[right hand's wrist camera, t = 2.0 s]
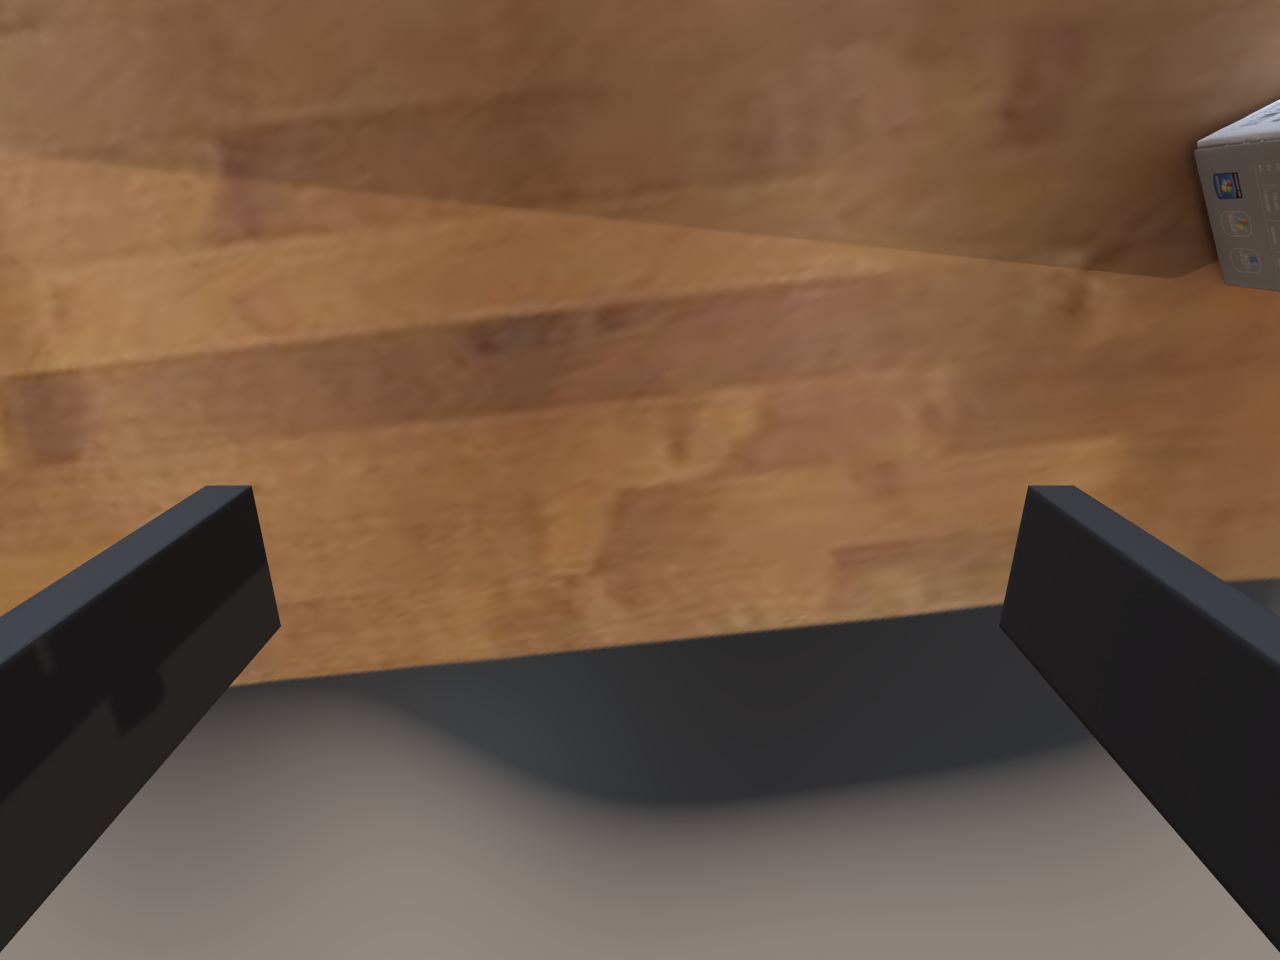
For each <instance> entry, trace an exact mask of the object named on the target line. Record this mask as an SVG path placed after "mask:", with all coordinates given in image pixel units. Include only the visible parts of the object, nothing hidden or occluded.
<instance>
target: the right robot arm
mask: <svg viewBox="0 0 1280 960" xmlns="http://www.w3.org/2000/svg"><path fill="white" fill-rule="evenodd" d="M280 627H281V624H280V620H279V615H278V610H277V605H276V600H275V596H274V591H273V586H272V581H271V577H270V572H269V567H268V562H267V557H266V553H265V548H264V543H263V538H262V533H261V529H260V524H259V519H258V514H257V509H256V505H255V500H254V495H253V490H252V486H205V487H203V488H202V489H200V490H199V491H197V492H195V493H194V494H192V495H191V496H189V497H188V498H186V499H184V500H183V501H181V502H180V503H178V504H177V505H175V506H174V507H172V508H170V509H169V510H167V511H166V512H164V513H163V514H161V515H159V516H158V517H156V518H155V519H153V520H152V521H150V522H148V523H147V524H145V525H144V526H142V527H141V528H139V529H137V530H136V531H134V532H133V533H131V534H130V535H128V536H127V537H125V538H123V539H122V540H120V541H119V542H117V543H116V544H114V545H112V546H111V547H109V548H108V549H106V550H105V551H103V552H101V553H100V554H98V555H97V556H95V557H94V558H92V559H90V560H89V561H87V562H86V563H84V564H83V565H81V566H80V567H78V568H76V569H75V570H73V571H72V572H70V573H69V574H67V575H65V576H64V577H62V578H61V579H59V580H58V581H56V582H54V583H53V584H51V585H50V586H48V587H47V588H45V589H43V590H42V591H40V592H39V593H37V594H36V595H34V596H32V597H31V598H29V599H28V600H26V601H25V602H23V603H22V604H20V605H18V606H17V607H15V608H14V609H12V610H11V611H9V612H7V613H6V614H4V615H3V616H1V617H0V952H1V951H2V950H3V949H4V947H5V946H6V945H7V944H8V943H9V942H10V940H11V939H12V938H13V937H14V936H15V935H16V933H17V932H18V931H19V930H20V929H21V928H22V927H23V925H24V924H25V923H26V922H27V921H28V920H29V918H30V917H31V916H32V915H33V914H34V913H35V911H36V910H37V909H38V908H39V907H40V906H41V904H42V903H43V902H44V901H45V900H46V899H47V897H48V896H49V895H50V894H51V893H52V892H53V890H54V889H55V888H56V887H57V886H58V885H59V884H60V882H61V881H62V880H63V879H64V878H65V876H66V875H67V874H68V873H69V872H70V871H71V870H72V868H73V867H74V866H75V865H76V864H77V862H78V861H79V860H80V859H81V858H82V857H83V856H84V854H85V853H86V852H87V851H88V850H89V849H90V847H91V846H92V845H93V844H94V843H95V842H96V840H97V839H98V838H99V837H100V836H101V835H102V834H103V832H104V831H105V830H106V829H107V828H108V827H109V825H110V824H111V823H112V822H113V821H114V820H115V818H116V817H117V816H118V815H119V814H120V813H121V811H122V810H123V809H124V808H125V807H126V806H127V804H128V803H129V802H130V801H131V800H132V799H133V797H134V796H135V795H136V794H137V793H138V792H139V791H140V789H141V788H142V787H143V786H144V785H145V784H146V782H147V781H148V780H149V779H150V778H151V777H152V775H153V774H154V773H155V772H156V771H157V770H158V768H159V767H160V766H161V765H162V764H163V763H164V761H165V760H166V759H167V758H168V757H169V756H170V754H171V753H172V752H173V751H174V750H175V749H176V748H177V746H178V745H179V744H180V743H181V742H182V741H183V739H184V738H185V737H186V736H187V735H188V734H189V732H190V731H191V730H192V729H193V728H194V727H195V725H196V724H197V723H198V722H199V721H200V720H201V718H202V717H203V716H204V715H205V714H206V713H207V711H208V710H209V709H210V708H211V707H212V706H213V705H214V703H215V702H216V701H217V700H218V699H219V698H220V696H221V695H222V694H223V693H224V692H225V691H226V689H227V688H228V687H229V686H230V685H231V684H232V682H233V681H234V680H235V679H236V678H237V677H238V675H239V674H240V673H241V672H242V671H243V670H244V668H245V667H246V666H247V665H248V664H249V663H250V661H251V660H252V659H253V658H254V657H255V656H256V655H257V653H258V652H259V651H260V650H261V649H262V648H263V646H264V645H265V644H266V643H267V642H268V641H269V639H270V638H271V637H272V636H273V635H274V634H275V632H276V631H277V630H278V629H279V628H280ZM999 627H1000V628H1001V629H1002V630H1003V631H1004V632H1005V634H1006V635H1007V636H1008V637H1009V638H1010V639H1011V641H1012V642H1013V643H1014V644H1015V645H1016V646H1017V648H1018V649H1019V650H1020V651H1021V652H1022V653H1023V655H1024V656H1025V657H1026V658H1027V659H1028V660H1029V661H1030V663H1031V664H1032V665H1033V666H1034V667H1035V668H1036V670H1037V671H1038V672H1039V673H1040V674H1041V675H1042V677H1043V678H1044V679H1045V680H1046V681H1047V682H1048V684H1049V685H1050V686H1051V687H1052V688H1053V689H1054V691H1055V692H1056V693H1057V694H1058V695H1059V696H1060V698H1061V699H1062V700H1063V701H1064V702H1065V703H1066V705H1067V706H1068V707H1069V708H1070V709H1071V710H1072V711H1073V713H1074V714H1075V715H1076V716H1077V717H1078V718H1079V720H1080V721H1081V722H1082V723H1083V724H1084V725H1085V727H1086V728H1087V729H1088V730H1089V731H1090V732H1091V734H1092V735H1093V736H1094V737H1095V738H1096V739H1097V741H1098V742H1099V743H1100V744H1101V745H1102V746H1103V748H1104V749H1105V750H1106V751H1107V752H1108V753H1109V754H1110V756H1111V757H1112V758H1113V759H1114V760H1115V761H1116V763H1117V764H1118V765H1119V766H1120V767H1121V768H1122V770H1123V771H1124V772H1125V773H1126V774H1127V775H1128V777H1129V778H1130V779H1131V780H1132V781H1133V782H1134V784H1135V785H1136V786H1137V787H1138V788H1139V789H1140V791H1141V792H1142V793H1143V794H1144V795H1145V796H1146V797H1147V799H1148V800H1149V801H1150V802H1151V803H1152V804H1153V806H1154V807H1155V808H1156V809H1157V810H1158V811H1159V813H1160V814H1161V815H1162V816H1163V817H1164V818H1165V820H1166V821H1167V822H1168V823H1169V824H1170V825H1171V827H1172V828H1173V829H1174V830H1175V831H1176V832H1177V834H1178V835H1179V836H1180V837H1181V838H1182V839H1183V840H1184V842H1185V843H1186V844H1187V845H1188V846H1189V847H1190V849H1191V850H1192V851H1193V852H1194V853H1195V854H1196V856H1197V857H1198V858H1199V859H1200V860H1201V861H1202V863H1203V864H1204V865H1205V866H1206V867H1207V868H1208V870H1209V871H1210V872H1211V873H1212V874H1213V875H1214V877H1215V878H1216V879H1217V880H1218V881H1219V882H1220V883H1221V885H1222V886H1223V887H1224V888H1225V889H1226V890H1227V892H1228V893H1229V894H1230V895H1231V896H1232V897H1233V899H1234V900H1235V901H1236V902H1237V903H1238V904H1239V906H1240V907H1241V908H1242V909H1243V910H1244V911H1245V913H1246V914H1247V915H1248V916H1249V917H1250V918H1251V920H1252V921H1253V922H1254V923H1255V924H1256V925H1257V926H1258V928H1259V929H1260V930H1261V931H1262V932H1263V933H1264V935H1265V936H1266V937H1267V938H1268V939H1269V940H1270V942H1271V943H1272V944H1273V945H1274V946H1275V947H1276V949H1277V950H1278V951H1279V952H1280V617H1279V616H1277V615H1276V614H1274V613H1273V612H1271V611H1269V610H1268V609H1266V608H1265V607H1263V606H1262V605H1260V604H1258V603H1257V602H1255V601H1254V600H1252V599H1251V598H1249V597H1247V596H1246V595H1244V594H1243V593H1241V592H1240V591H1238V590H1236V589H1235V588H1233V587H1232V586H1230V585H1229V584H1227V583H1226V582H1224V581H1222V580H1221V579H1219V578H1218V577H1216V576H1215V575H1213V574H1211V573H1210V572H1208V571H1207V570H1205V569H1204V568H1202V567H1200V566H1199V565H1197V564H1196V563H1194V562H1193V561H1191V560H1190V559H1188V558H1186V557H1185V556H1183V555H1182V554H1180V553H1179V552H1177V551H1175V550H1174V549H1172V548H1171V547H1169V546H1168V545H1166V544H1164V543H1163V542H1161V541H1160V540H1158V539H1157V538H1155V537H1153V536H1152V535H1150V534H1149V533H1147V532H1146V531H1144V530H1143V529H1141V528H1139V527H1138V526H1136V525H1135V524H1133V523H1132V522H1130V521H1128V520H1127V519H1125V518H1124V517H1122V516H1121V515H1119V514H1117V513H1116V512H1114V511H1113V510H1111V509H1110V508H1108V507H1106V506H1105V505H1103V504H1102V503H1100V502H1099V501H1097V500H1096V499H1094V498H1092V497H1091V496H1089V495H1088V494H1086V493H1085V492H1083V491H1081V490H1080V489H1078V488H1077V487H1075V486H1028V490H1027V495H1026V500H1025V505H1024V509H1023V514H1022V519H1021V524H1020V529H1019V533H1018V538H1017V543H1016V548H1015V553H1014V557H1013V562H1012V567H1011V572H1010V577H1009V581H1008V586H1007V591H1006V596H1005V600H1004V605H1003V610H1002V615H1001V620H1000V624H999Z"/></svg>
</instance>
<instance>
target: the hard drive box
mask: <svg viewBox="0 0 1280 960" xmlns="http://www.w3.org/2000/svg"><path fill="white" fill-rule="evenodd" d="M1197 146H1198V147H1197V149H1196V150H1195V151H1194V155H1195V159H1196V163H1197V168H1198V173H1199V177H1200V181H1201V185H1202V189H1203V194H1204V198H1205V202H1206V207H1207V211H1208V215H1209V220H1210V224H1211V228H1212V232H1213V236H1214V240H1215V245H1216V250H1217V254H1218V259H1219V263H1220V267H1221V271H1222V276H1223V279H1224V282H1225V284H1226V285H1228V286H1239V287H1246V288H1254V289H1262V290H1270V291H1279V292H1280V99H1279V100H1277V101H1275V102H1273V103H1271V104H1270V105H1268V106H1266V107H1264V108H1262V109H1260V110H1258V111H1256V112H1254V113H1252V114H1250V115H1248V116H1247V117H1245V118H1243V119H1241V120H1239V121H1237V122H1235V123H1233V124H1231V125H1228V126H1226V127H1224V128H1222V129H1220V130H1218V131H1216V132H1215V133H1213V134H1211V135H1209V136H1207V137H1205V138H1203V139H1201V140H1199V141H1198V142H1197Z"/></svg>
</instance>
